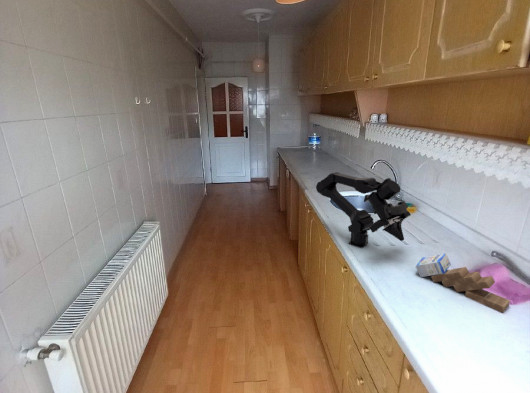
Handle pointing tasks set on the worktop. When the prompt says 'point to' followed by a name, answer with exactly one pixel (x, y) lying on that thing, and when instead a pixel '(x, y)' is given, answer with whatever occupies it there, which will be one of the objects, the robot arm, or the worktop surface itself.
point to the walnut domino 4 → (488, 299)
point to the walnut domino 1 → (451, 274)
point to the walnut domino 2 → (463, 280)
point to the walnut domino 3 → (476, 284)
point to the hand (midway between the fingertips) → (402, 240)
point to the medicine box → (433, 265)
